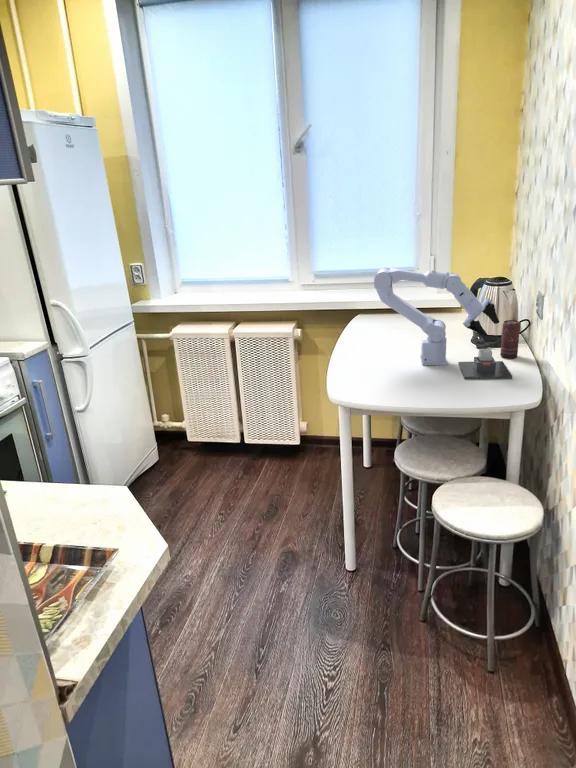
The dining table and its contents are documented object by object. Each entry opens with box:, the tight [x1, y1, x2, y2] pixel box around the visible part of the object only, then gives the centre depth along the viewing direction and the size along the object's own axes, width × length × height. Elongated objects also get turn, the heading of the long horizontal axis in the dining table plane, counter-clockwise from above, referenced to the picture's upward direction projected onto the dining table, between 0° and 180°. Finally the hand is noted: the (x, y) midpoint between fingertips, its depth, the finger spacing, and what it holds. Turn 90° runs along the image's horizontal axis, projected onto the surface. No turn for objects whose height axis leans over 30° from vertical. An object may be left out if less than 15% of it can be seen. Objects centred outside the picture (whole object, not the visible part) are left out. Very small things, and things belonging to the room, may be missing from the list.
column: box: [477, 348, 493, 362], centre depth 203 cm, size 4×4×8 cm
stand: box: [457, 356, 513, 380], centre depth 204 cm, size 16×16×4 cm
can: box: [499, 319, 522, 360], centre depth 215 cm, size 6×6×14 cm
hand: (491, 329), depth 207 cm, fingers open, 7 cm apart
